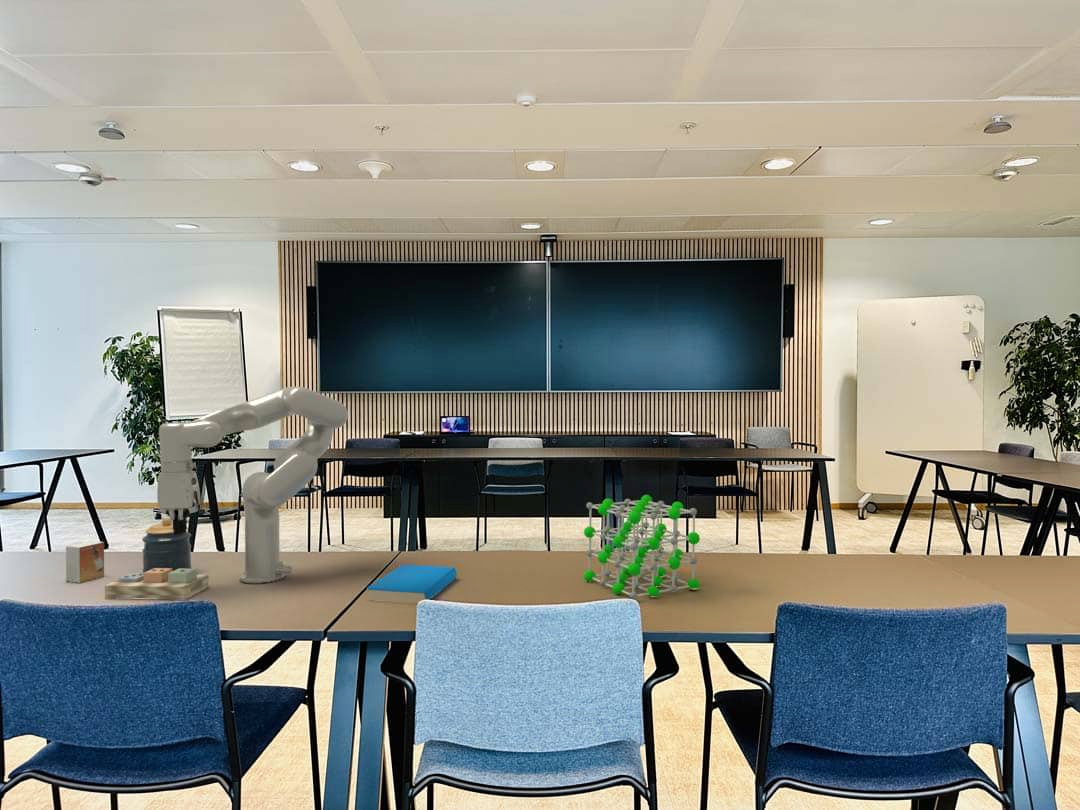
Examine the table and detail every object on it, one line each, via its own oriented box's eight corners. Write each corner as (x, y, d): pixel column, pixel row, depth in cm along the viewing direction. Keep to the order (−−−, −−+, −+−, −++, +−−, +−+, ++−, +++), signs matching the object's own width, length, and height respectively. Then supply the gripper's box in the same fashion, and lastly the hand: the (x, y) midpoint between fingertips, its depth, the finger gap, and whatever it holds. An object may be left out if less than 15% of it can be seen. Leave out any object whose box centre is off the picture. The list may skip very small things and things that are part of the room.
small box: (79, 583, 197) (78, 547, 196) (65, 581, 198) (64, 546, 198) (105, 576, 204) (104, 541, 204) (91, 574, 206) (91, 540, 206)
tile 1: (196, 579, 190) (196, 568, 189) (186, 584, 185) (186, 572, 184) (179, 579, 190) (179, 567, 190) (168, 584, 185) (168, 572, 185)
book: (366, 588, 181) (402, 563, 205) (366, 604, 181) (402, 577, 206) (427, 591, 178) (456, 566, 202) (427, 607, 178) (456, 580, 202)
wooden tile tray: (208, 587, 193) (208, 574, 193) (184, 600, 181) (184, 586, 181) (134, 585, 194) (133, 573, 194) (104, 598, 182) (104, 585, 182)
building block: (148, 584, 190) (148, 572, 190) (136, 589, 185) (136, 577, 185) (131, 583, 191) (130, 572, 191) (119, 589, 186) (118, 577, 186)
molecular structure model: (646, 570, 212) (647, 493, 211) (702, 591, 190) (703, 505, 190) (581, 581, 200) (581, 499, 200) (633, 604, 178) (633, 513, 178)
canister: (163, 569, 213) (163, 513, 212) (200, 571, 210) (200, 514, 210) (132, 580, 200) (131, 520, 199) (171, 582, 198) (170, 522, 197)
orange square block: (172, 579, 190) (172, 567, 190) (161, 584, 185) (161, 572, 185) (155, 578, 190) (154, 567, 190) (143, 583, 185) (143, 572, 185)
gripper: (210, 465, 190) (213, 530, 191) (159, 466, 191) (163, 530, 192) (194, 469, 182) (197, 536, 183) (141, 469, 184) (145, 536, 184)
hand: (180, 533), depth 187 cm, fingers closed
